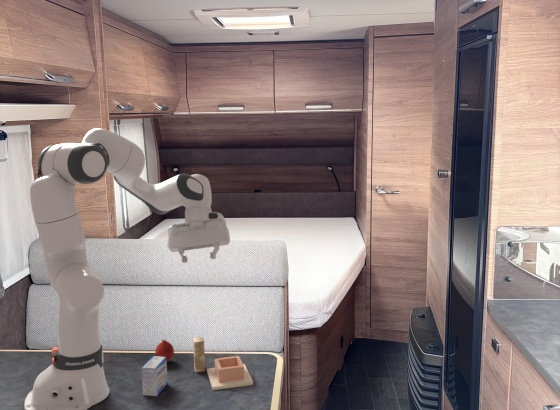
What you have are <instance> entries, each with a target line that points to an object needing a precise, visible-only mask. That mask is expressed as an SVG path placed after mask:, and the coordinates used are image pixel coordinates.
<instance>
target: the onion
mask: <svg viewBox="0 0 560 410" xmlns="http://www.w3.org/2000/svg"><path fill="white" fill-rule="evenodd" d="M174 355H175V349H174V346H173V345H172V343H170V342H169V341H167V340H166V339H164V338H163V339H161V342H160V343H158V344H157V346H156V348H155V356H160V357H166V362H167V363H168V362H170V361H171V359H172V358H173V356H174Z"/></svg>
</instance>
